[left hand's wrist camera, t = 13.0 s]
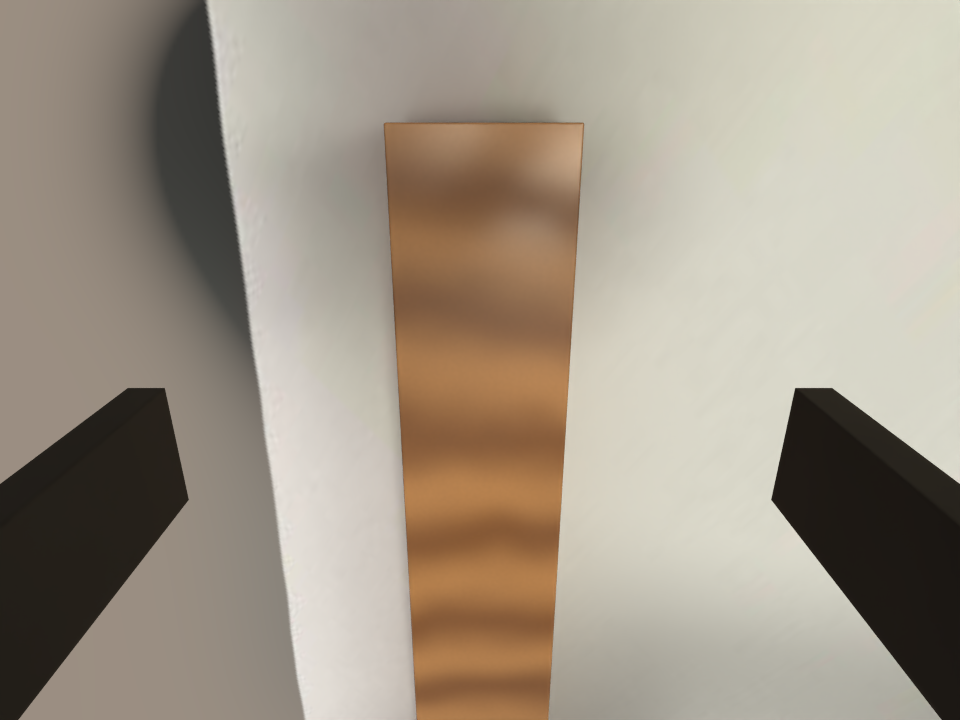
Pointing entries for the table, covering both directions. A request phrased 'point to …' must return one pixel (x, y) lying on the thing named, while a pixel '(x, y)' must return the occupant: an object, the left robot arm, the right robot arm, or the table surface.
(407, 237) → the wooden grain beam
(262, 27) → the table surface
